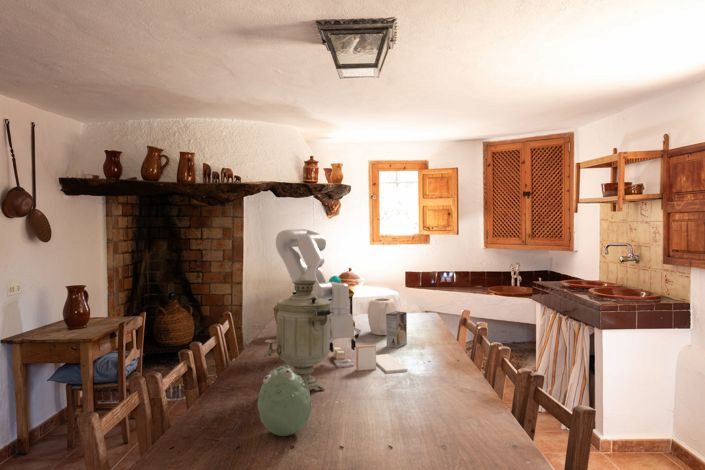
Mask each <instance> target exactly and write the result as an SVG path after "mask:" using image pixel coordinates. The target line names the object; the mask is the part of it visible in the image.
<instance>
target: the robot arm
mask: <svg viewBox="0 0 705 470" xmlns="http://www.w3.org/2000/svg"><path fill="white" fill-rule="evenodd" d="M296 247H297V248H298V250H299V252H298V251H297V250H296V249H294V248H296ZM326 247H327V242H326V239H325V237H324V236H323V235H322V234H320V233H318V232H315V231H312V230H309V229H307V228H306V229H303V228H300V229H299V228H298V229H295V228H294V229H283V230H281V231H279V232H278V233H277V234H276V237H275V248H276V250H277V253H278V255H279V256H280V258H281V259H282V261H283V263H284V265H285V268H286V270H287V273H288V274H289V277H290V280H291V281H296V280H312V281H316V283H315V284H314V285H313V291H312V294H313V295H315V296H317V297H318V298H321V299H326V300H329V299H332V309H331V310H330V311H331V312H332V314H333V315H331V320H330V349H329V352H331V353H333V348H334V343H333V341H334V339H335V340H337V339H348V338H349V339H351V340H350V347H351V350H353V351H355V350H356V346H357V345H356V341H357V339H358V338H359V337H360V334H361V332H362V330H361V329H359V328H358V327H356V326H355V327H354V326H353V320H354V318H353V319H352V317H353V314H352V315H351V314H350V311H349V289H350V288H349V285H348V283H344V282H341V283H337V282H329V281H327V278H326V277H325V275H324V273H323V270H322V269H321V267H322V266H324V264H325V258H324V256H323V254H322V253H321V252H322V251H324V250H325V249H326ZM300 254H301V255H300ZM355 332H356V333H355Z"/></svg>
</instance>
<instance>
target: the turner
mask: <svg viewBox="0 0 705 470" xmlns="http://www.w3.org/2000/svg"><path fill="white" fill-rule="evenodd" d="M332 353H333V354H332V356H333V357H334V360H333V363H334V364H335V366H336V367H337V368H339V369H340V368H349V367H355V363H354V362H353V361H352V360H351V359H350V358H348V359H347V358H346V352H345V350H343V349H342V348H341V347H339V346H338V347H333V352H332Z"/></svg>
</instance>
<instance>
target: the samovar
mask: <svg viewBox="0 0 705 470" xmlns="http://www.w3.org/2000/svg"><path fill="white" fill-rule="evenodd" d="M291 281H292V280H291ZM291 283H293V284H294V291H293V292H291V293H292V295H291V296H290V297H286V298H281V299H279V300H276V302H275V303H276V305H277V307H278V309H279V312H278V313H277V324H276V339H274V338H268V339H266V340H264V341H265V343H269V346H268V347H269V348H268V350H267V351H265V352H264V354H263V355H262V358H267V356H272V355H273V353H276V355H278V358H279V359H280V360H282V361H283V362H284V363H285V364H286V365H288V366H289V367H293V372H294V373H295V374H296V375H300V377H301V378H302V380H304V379H306V380H307V384H308V388H309V391H312V390H314V389H316V388H317V389H319V390H321V391H322V392H323V391H325V390H326V389H325V387H324V386H321V383H319V381H318V379H316V378H315V377H314V376H313V375H311V373H313V372H314V366H317V365H319V364H320V363H321V362H322V361H324V360H325V359H326V358H327V357H328V355H329V353H330V350H329V349H330V313H332V312H331V311H330V310H329V307H330V304H331V302H330V301H328V300H326V299H321V298H318V297H317V296H315V295H313V294H312V291H313V285H314V284H315V283H316V281H312V280H296V281H292V282H291ZM274 343H276V348H275V349H274V348H273V344H274Z"/></svg>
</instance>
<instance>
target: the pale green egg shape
mask: <svg viewBox="0 0 705 470" xmlns="http://www.w3.org/2000/svg"><path fill="white" fill-rule="evenodd" d="M310 391H311V390H309V388H308V384H307V380H306V379H304V380H302V378H301V377H300V375H297V373H295V372H294V370H292V368H291V366H290V365H288V364H285V365H280V366H278V367H275V368H274V369H272V370H269V373H268V374H266V375H265V376H264V378H263V380H262V384H261V387H260V389H259V393H258V399H257V410H258V413H259V419H260V421H261V424H263V426H264V427H265V429H267V430H268V432H270V433H272V434H274V435H276V436H279V437H288V436H291V435H294V434H296V433H297V432H298V431H300V430H301V429H302V428H303V427H304V426H305V425H306V424H307V421H308V420H309V418H310V415H311V413H312V409H313V408H312V406H313V405H312V400H311V393H310Z"/></svg>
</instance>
